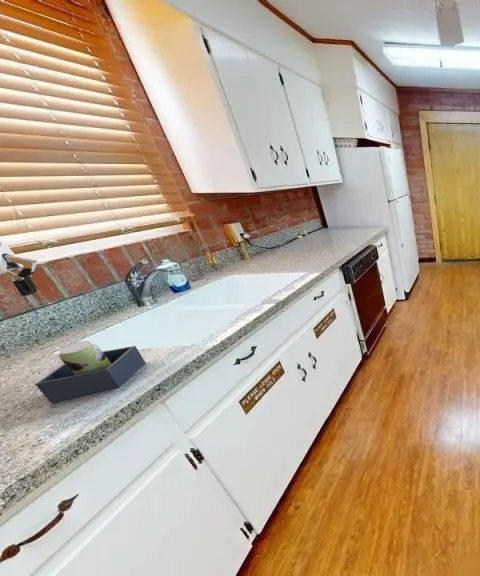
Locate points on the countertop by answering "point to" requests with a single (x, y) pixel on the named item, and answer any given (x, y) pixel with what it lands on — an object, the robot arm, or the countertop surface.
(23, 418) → the countertop surface
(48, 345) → the countertop surface
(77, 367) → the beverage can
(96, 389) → the bin
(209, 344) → the countertop surface
